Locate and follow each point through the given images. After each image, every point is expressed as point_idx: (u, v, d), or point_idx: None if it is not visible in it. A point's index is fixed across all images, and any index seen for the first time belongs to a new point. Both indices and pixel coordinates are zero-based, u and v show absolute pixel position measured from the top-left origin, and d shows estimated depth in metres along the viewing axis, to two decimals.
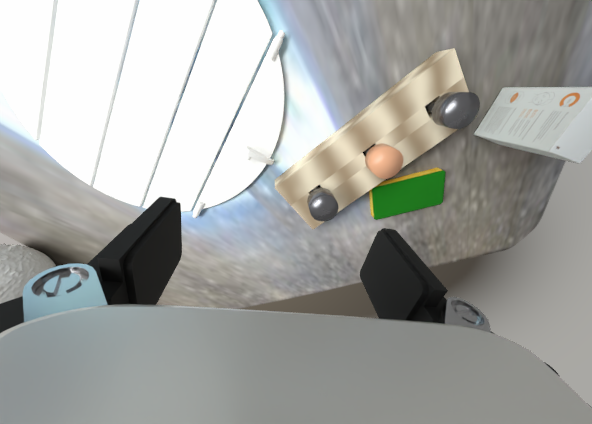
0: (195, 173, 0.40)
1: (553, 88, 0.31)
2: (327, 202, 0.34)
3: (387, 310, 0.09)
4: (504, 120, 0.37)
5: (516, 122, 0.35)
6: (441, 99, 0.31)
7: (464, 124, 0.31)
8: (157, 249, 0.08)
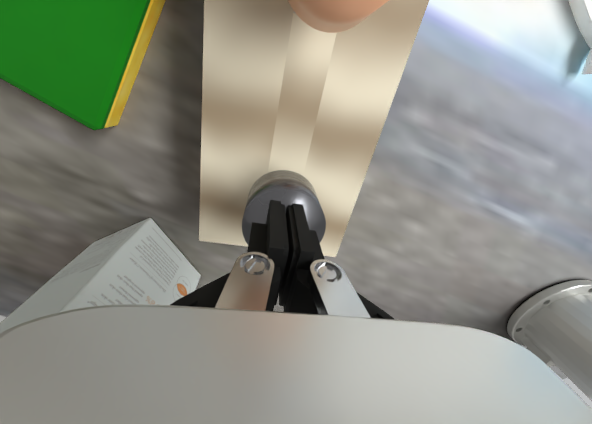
0: None
1: None
2: None
3: (281, 279, 0.10)
4: (152, 271, 0.18)
5: (137, 292, 0.16)
6: None
7: (248, 219, 0.12)
8: None
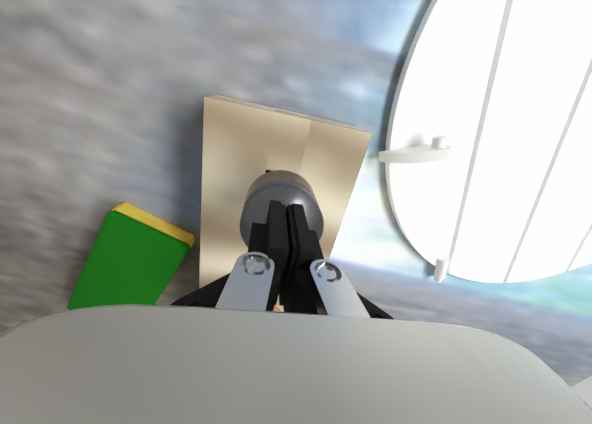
0: (532, 13, 0.16)
1: None
2: None
3: (281, 278, 0.10)
4: None
5: None
6: None
7: None
8: None
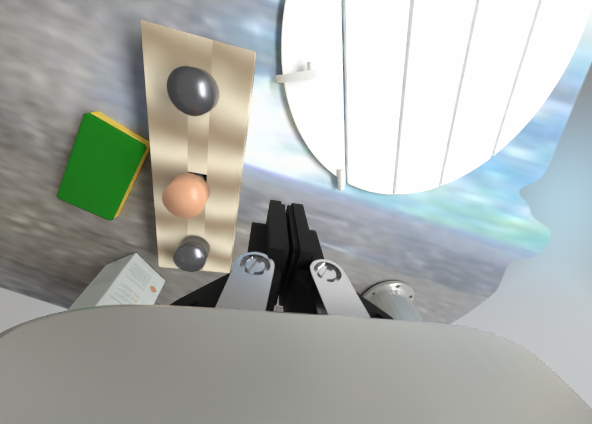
0: None
1: None
2: (196, 104, 0.23)
3: (281, 278, 0.10)
4: (137, 280, 0.38)
5: (130, 291, 0.36)
6: (208, 248, 0.35)
7: (175, 257, 0.33)
8: None
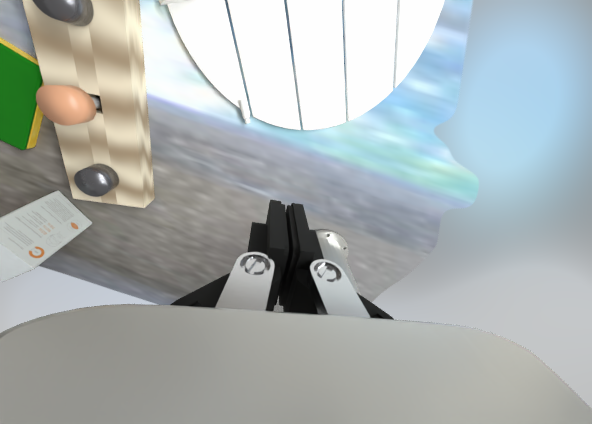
0: None
1: (59, 247, 0.38)
2: (59, 7, 0.25)
3: (281, 278, 0.10)
4: (54, 213, 0.40)
5: (43, 219, 0.38)
6: (115, 177, 0.37)
7: (76, 180, 0.34)
8: None
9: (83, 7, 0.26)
